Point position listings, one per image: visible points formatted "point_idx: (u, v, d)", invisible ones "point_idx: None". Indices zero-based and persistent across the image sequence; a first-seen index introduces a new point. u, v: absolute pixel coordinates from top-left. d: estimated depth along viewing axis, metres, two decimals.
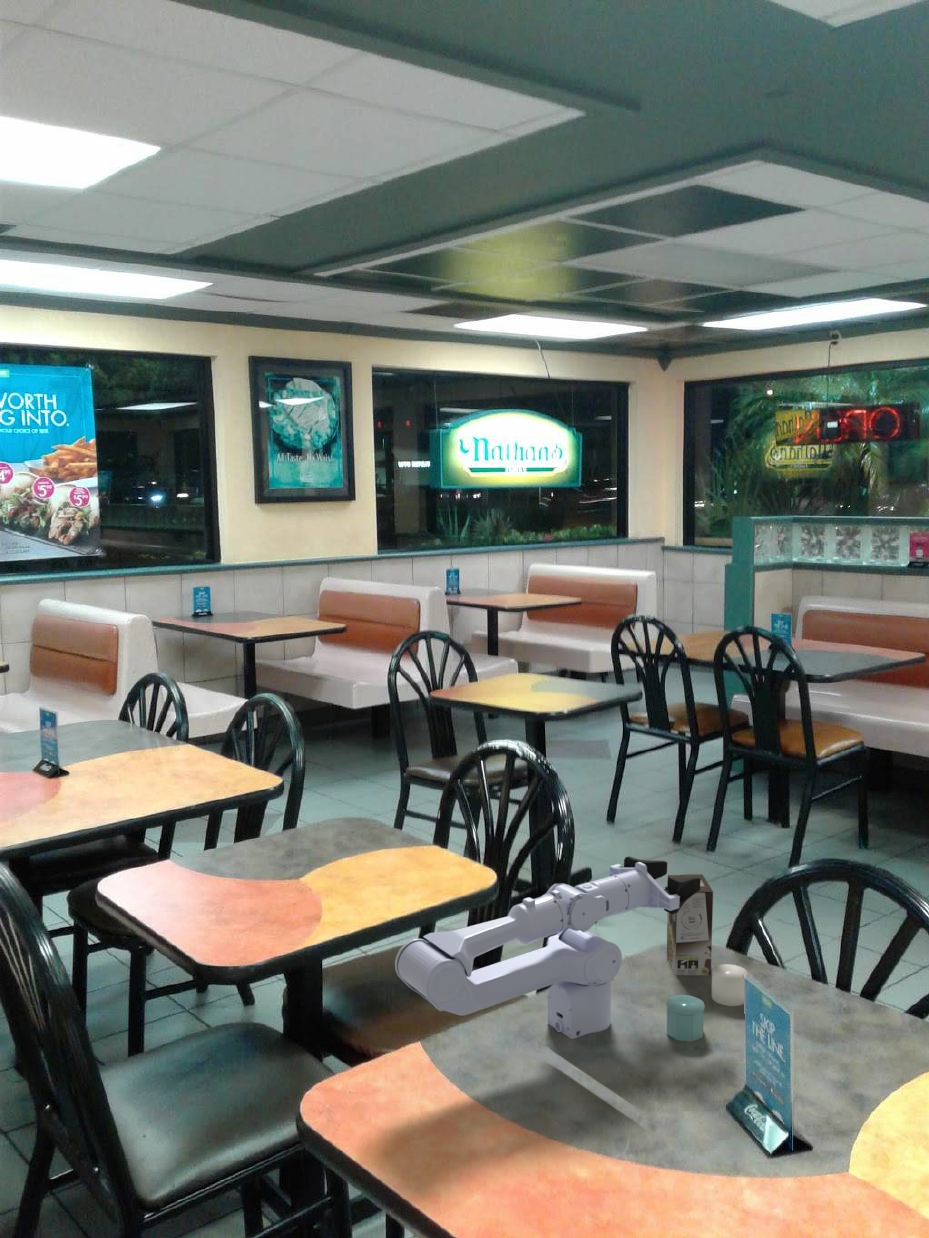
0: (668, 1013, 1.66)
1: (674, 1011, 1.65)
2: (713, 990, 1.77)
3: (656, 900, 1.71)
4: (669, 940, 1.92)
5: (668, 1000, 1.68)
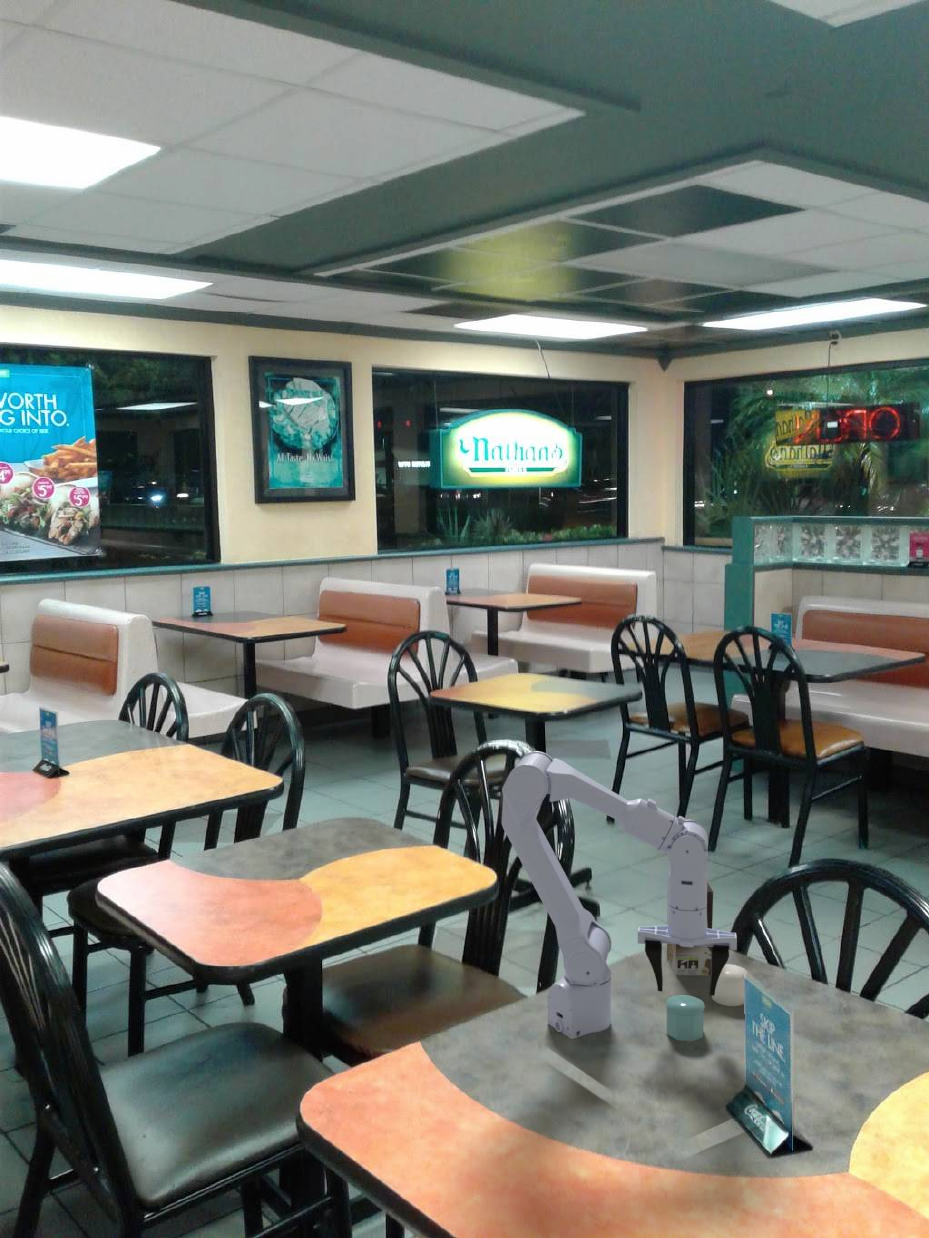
0: (668, 1013, 1.66)
1: (674, 1011, 1.65)
2: None
3: None
4: None
5: (668, 1000, 1.68)
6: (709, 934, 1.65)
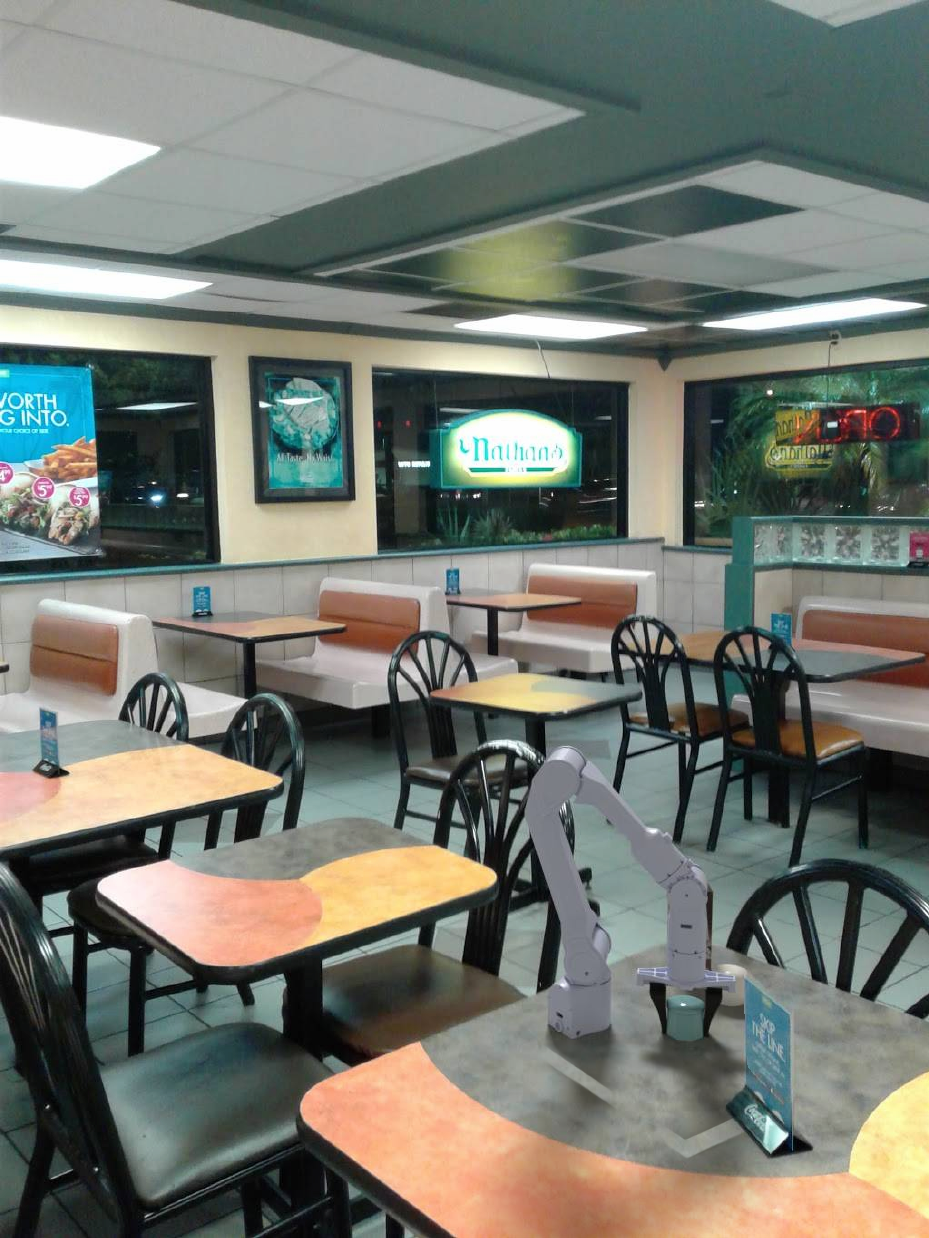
0: (668, 1013, 1.66)
1: (674, 1011, 1.65)
2: None
3: None
4: None
5: (668, 1000, 1.68)
6: (708, 977, 1.65)
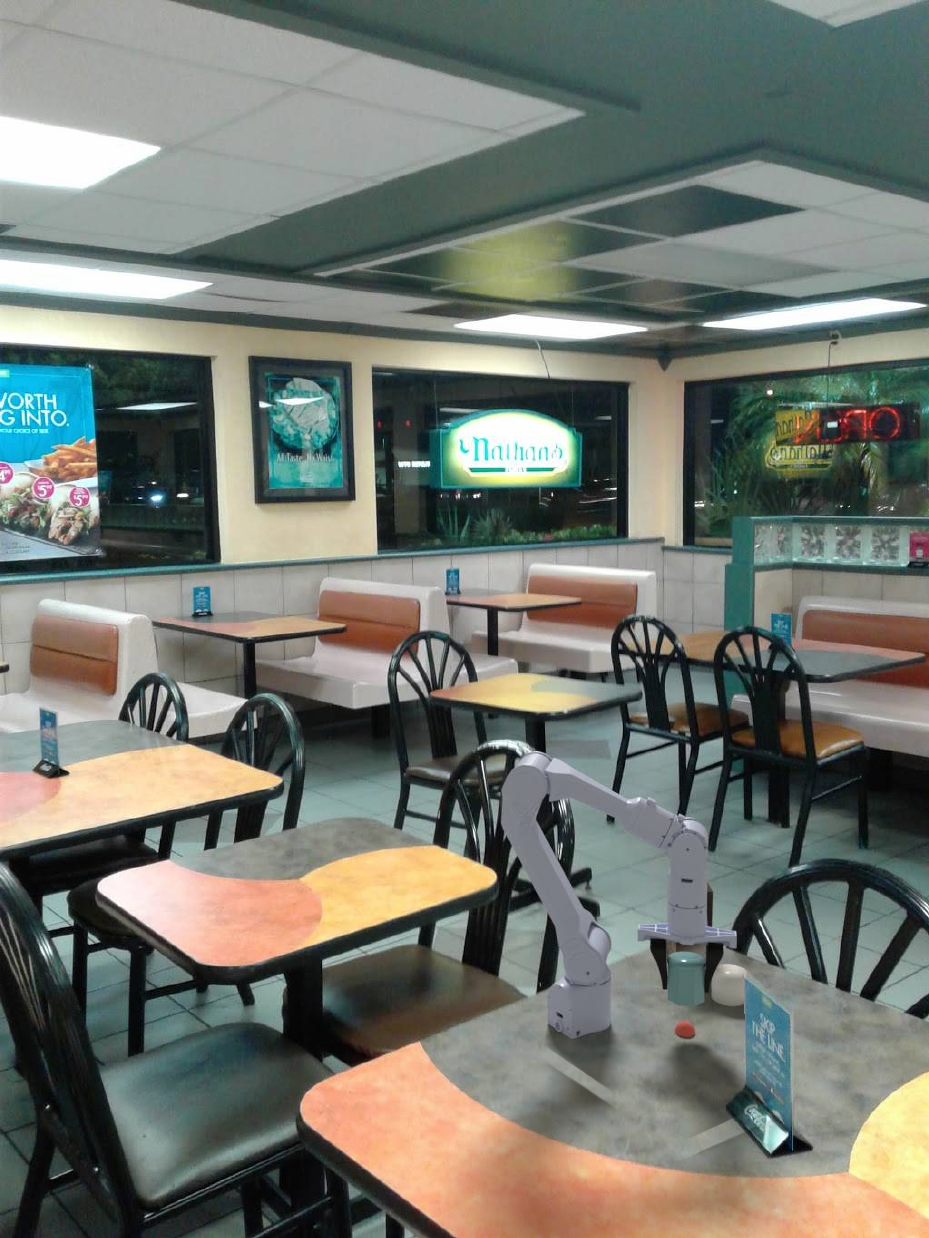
0: (669, 969, 1.65)
1: (674, 967, 1.64)
2: (713, 990, 1.77)
3: None
4: None
5: (669, 956, 1.67)
6: (709, 932, 1.65)
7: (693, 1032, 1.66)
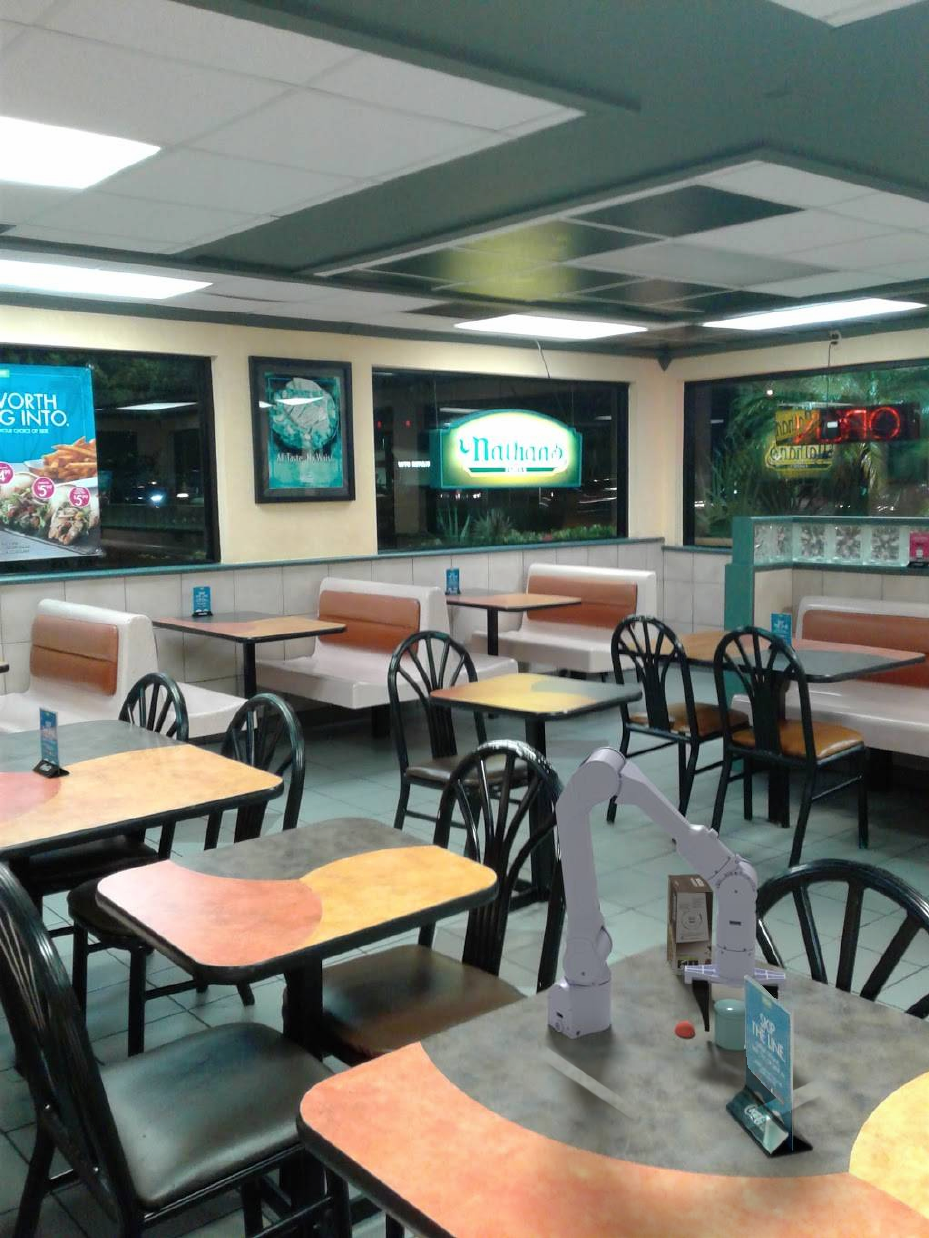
0: (716, 1018, 1.63)
1: (722, 1016, 1.62)
2: (713, 990, 1.77)
3: None
4: (669, 940, 1.92)
5: (716, 1004, 1.65)
6: (757, 974, 1.62)
7: (693, 1032, 1.66)
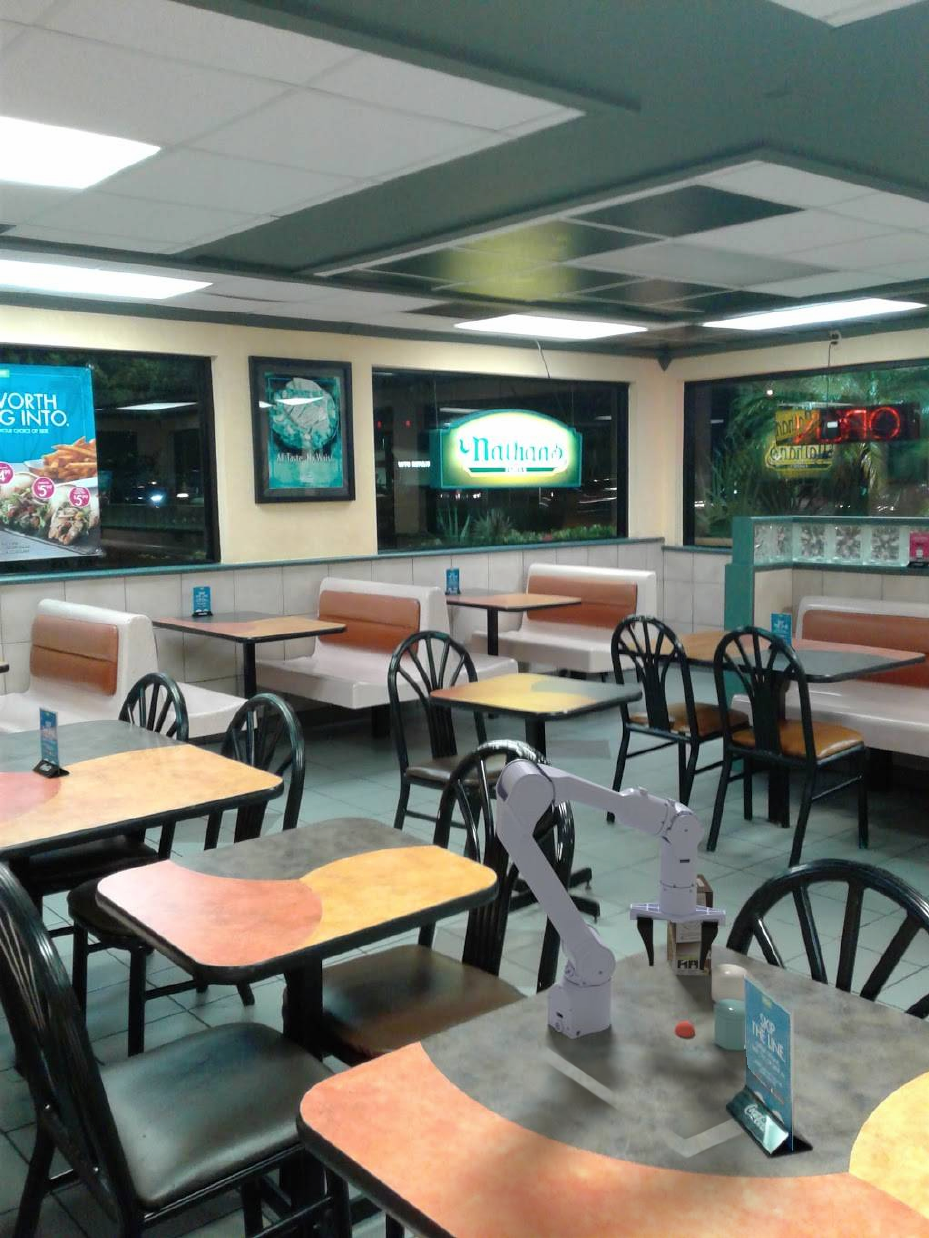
0: (716, 1018, 1.63)
1: (722, 1016, 1.62)
2: (713, 990, 1.77)
3: None
4: (669, 940, 1.92)
5: (716, 1004, 1.65)
6: (699, 911, 1.70)
7: (693, 1032, 1.66)
